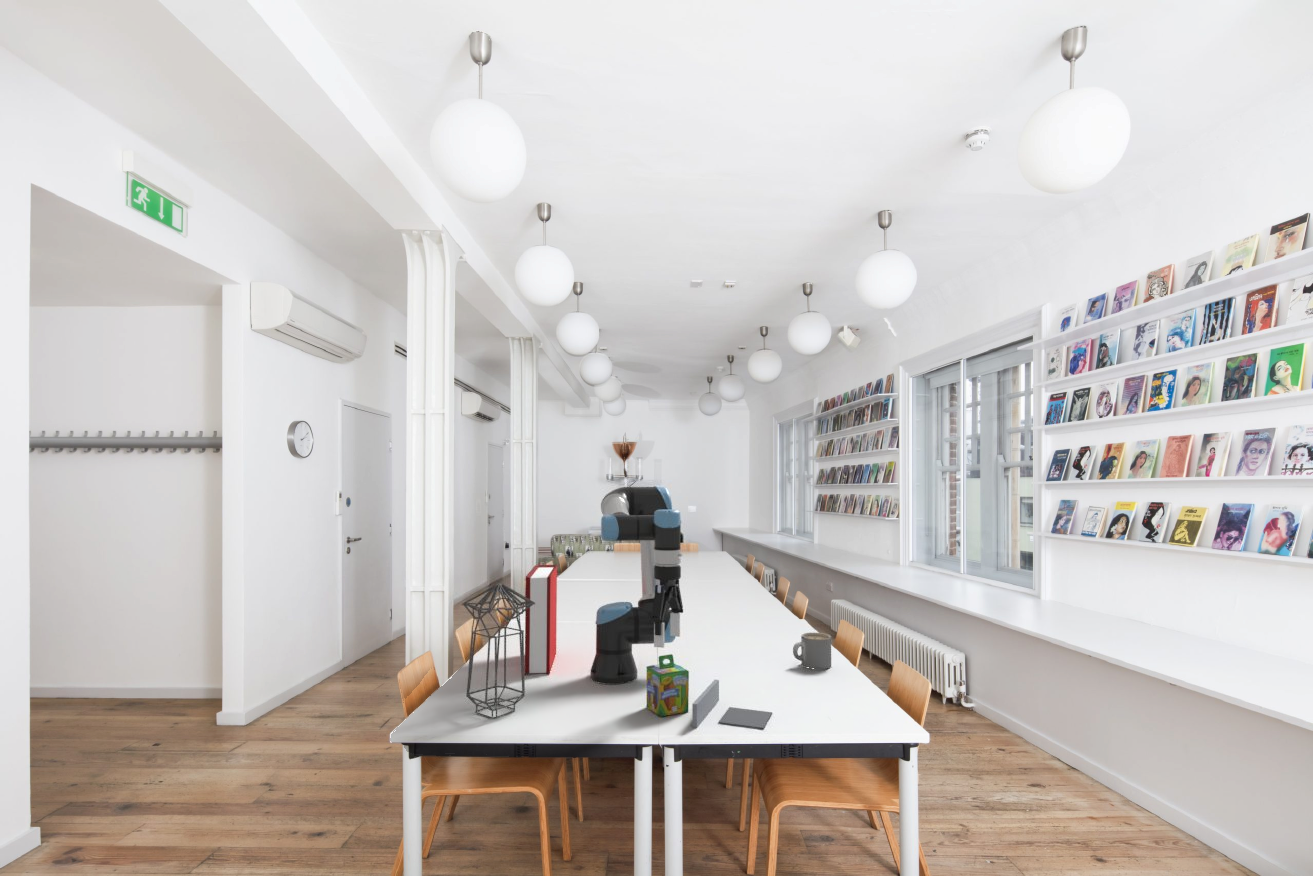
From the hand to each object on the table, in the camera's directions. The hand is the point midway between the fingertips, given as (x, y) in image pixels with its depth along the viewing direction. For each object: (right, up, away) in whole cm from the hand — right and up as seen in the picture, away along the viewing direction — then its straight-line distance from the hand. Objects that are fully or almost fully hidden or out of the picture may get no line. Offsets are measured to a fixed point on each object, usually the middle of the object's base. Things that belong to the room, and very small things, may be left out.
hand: (667, 641), depth 188 cm
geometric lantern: (-47, -19, -1) cm, 51 cm away
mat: (+21, -19, -7) cm, 29 cm away
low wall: (+11, -19, -3) cm, 22 cm away
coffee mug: (+50, -21, +43) cm, 69 cm away
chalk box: (0, -19, -1) cm, 19 cm away
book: (-43, -21, +45) cm, 66 cm away
